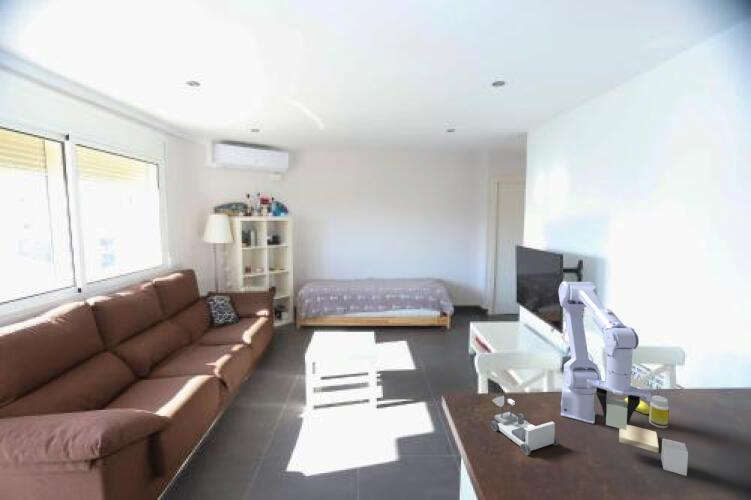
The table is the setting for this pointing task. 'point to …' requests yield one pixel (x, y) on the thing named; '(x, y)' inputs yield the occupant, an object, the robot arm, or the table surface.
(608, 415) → the sage block
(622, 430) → the birch block
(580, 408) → the robot arm
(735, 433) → the table surface
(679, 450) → the grey block
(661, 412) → the supplement bottle
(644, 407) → the lemon
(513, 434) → the toy car
